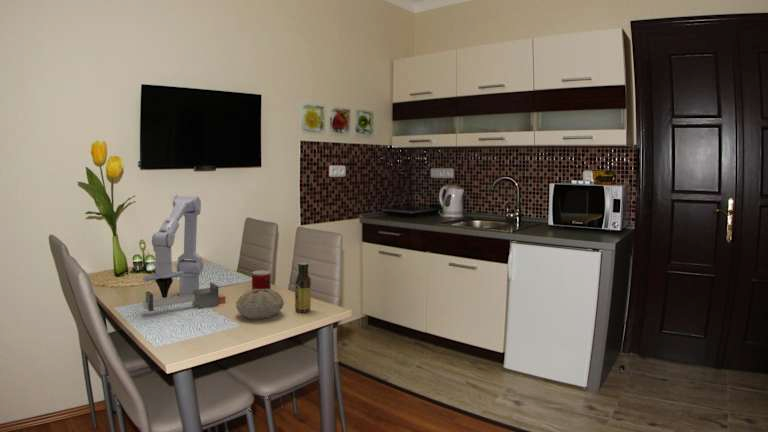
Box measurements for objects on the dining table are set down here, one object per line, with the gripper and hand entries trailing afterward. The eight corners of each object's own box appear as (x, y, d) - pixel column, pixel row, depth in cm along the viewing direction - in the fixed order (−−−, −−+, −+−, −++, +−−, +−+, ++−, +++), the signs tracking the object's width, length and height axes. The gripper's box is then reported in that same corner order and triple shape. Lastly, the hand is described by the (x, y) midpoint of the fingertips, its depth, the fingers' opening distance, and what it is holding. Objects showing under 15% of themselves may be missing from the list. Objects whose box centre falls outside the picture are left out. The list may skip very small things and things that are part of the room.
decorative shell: (227, 315, 187) (227, 290, 185) (265, 305, 200) (265, 282, 199) (254, 326, 175) (254, 300, 174) (293, 315, 189) (293, 290, 188)
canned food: (267, 299, 209) (267, 274, 207) (249, 298, 209) (249, 273, 208) (272, 294, 216) (272, 270, 215) (255, 293, 217) (255, 269, 216)
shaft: (142, 308, 185) (141, 292, 184) (202, 299, 200) (202, 283, 199) (145, 312, 181) (145, 295, 180) (206, 301, 196) (206, 286, 195)
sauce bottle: (295, 308, 197) (296, 261, 195) (311, 308, 198) (311, 261, 196) (294, 313, 191) (294, 264, 188) (310, 313, 191) (310, 264, 189)
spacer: (215, 295, 203) (221, 294, 205) (215, 302, 203) (221, 301, 205) (219, 297, 200) (225, 296, 202) (219, 304, 200) (225, 303, 202)
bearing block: (192, 304, 199) (192, 285, 198) (212, 301, 204) (211, 282, 203) (199, 308, 193) (198, 288, 192) (218, 305, 199) (218, 285, 198)
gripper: (146, 267, 178) (147, 302, 180) (186, 262, 188) (186, 296, 189) (141, 263, 183) (142, 298, 185) (180, 259, 193) (181, 292, 194)
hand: (164, 297), depth 187 cm, fingers closed
